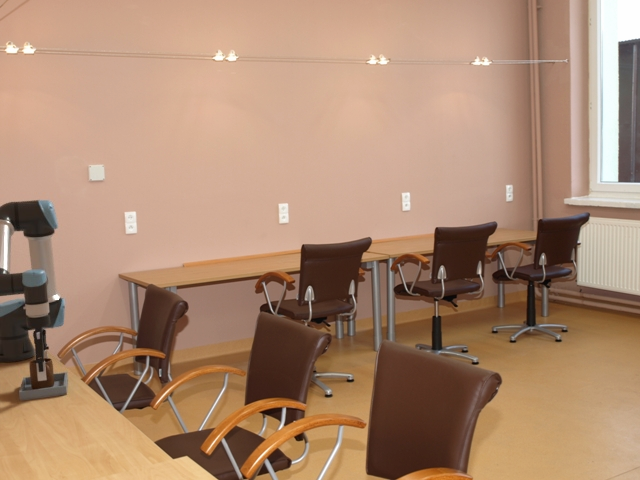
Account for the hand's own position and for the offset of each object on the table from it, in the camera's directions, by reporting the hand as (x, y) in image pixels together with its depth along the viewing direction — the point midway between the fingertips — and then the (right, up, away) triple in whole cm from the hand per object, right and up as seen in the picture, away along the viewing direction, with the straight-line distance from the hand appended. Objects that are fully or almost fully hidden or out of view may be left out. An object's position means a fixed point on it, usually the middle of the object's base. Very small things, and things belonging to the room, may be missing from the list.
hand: (43, 374), depth 249 cm
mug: (+1, -5, 0) cm, 5 cm away
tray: (0, -6, 0) cm, 6 cm away
